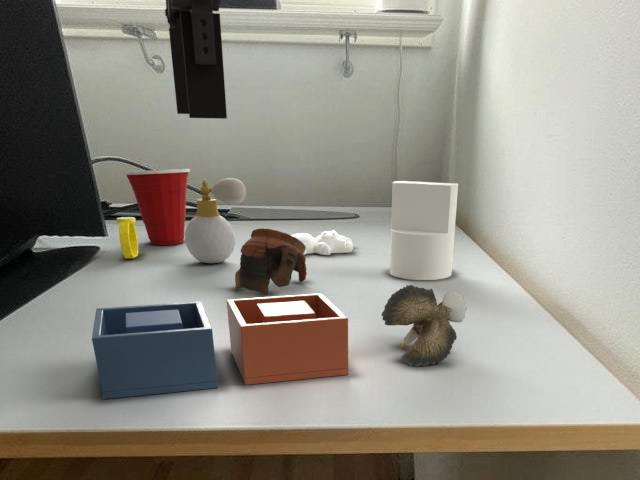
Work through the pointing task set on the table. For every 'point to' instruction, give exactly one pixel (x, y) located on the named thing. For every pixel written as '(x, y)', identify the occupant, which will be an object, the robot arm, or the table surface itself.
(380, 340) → the table surface
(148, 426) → the table surface
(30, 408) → the table surface
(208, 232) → the perfume bottle
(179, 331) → the slate bin
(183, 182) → the plastic cup
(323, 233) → the astronaut figurine
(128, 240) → the watch
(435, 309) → the eagle figurine
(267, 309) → the terracotta block
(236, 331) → the terracotta bin
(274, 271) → the brown wooden carving
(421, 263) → the cylinder with rectangular tab
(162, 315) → the slate block
